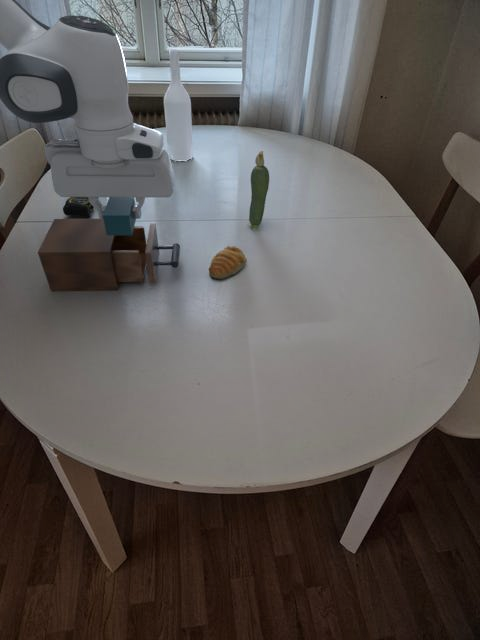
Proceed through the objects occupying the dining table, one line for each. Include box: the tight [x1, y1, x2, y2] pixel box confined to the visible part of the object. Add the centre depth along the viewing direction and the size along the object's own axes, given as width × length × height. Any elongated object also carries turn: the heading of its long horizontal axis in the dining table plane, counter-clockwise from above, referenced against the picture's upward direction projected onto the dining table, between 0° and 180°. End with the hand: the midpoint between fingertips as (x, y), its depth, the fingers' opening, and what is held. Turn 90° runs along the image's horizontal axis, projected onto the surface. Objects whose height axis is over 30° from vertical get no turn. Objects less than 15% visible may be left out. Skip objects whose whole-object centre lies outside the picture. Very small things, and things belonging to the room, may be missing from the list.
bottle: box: [163, 49, 194, 163], centre depth 129 cm, size 8×8×30 cm
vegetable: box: [248, 150, 270, 230], centre depth 102 cm, size 4×4×20 cm
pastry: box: [208, 245, 248, 280], centre depth 94 cm, size 9×7×4 cm
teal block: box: [103, 197, 137, 236], centre depth 78 cm, size 7×4×4 cm, turn 3°
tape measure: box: [62, 197, 95, 218], centre depth 111 cm, size 7×7×4 cm
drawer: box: [111, 223, 181, 285], centre depth 91 cm, size 18×11×8 cm, turn 93°
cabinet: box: [37, 218, 121, 292], centre depth 90 cm, size 14×13×10 cm
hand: (121, 217), depth 78 cm, fingers closed on teal block, 4 cm apart
